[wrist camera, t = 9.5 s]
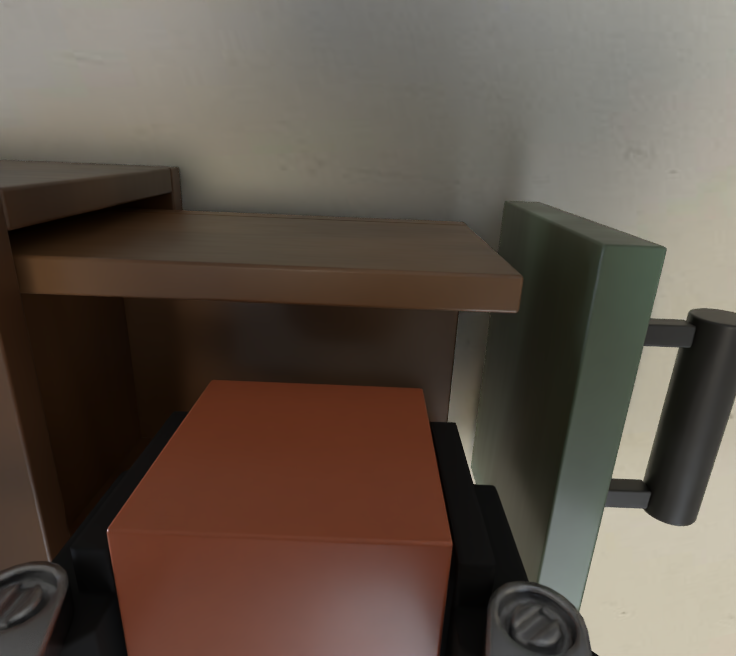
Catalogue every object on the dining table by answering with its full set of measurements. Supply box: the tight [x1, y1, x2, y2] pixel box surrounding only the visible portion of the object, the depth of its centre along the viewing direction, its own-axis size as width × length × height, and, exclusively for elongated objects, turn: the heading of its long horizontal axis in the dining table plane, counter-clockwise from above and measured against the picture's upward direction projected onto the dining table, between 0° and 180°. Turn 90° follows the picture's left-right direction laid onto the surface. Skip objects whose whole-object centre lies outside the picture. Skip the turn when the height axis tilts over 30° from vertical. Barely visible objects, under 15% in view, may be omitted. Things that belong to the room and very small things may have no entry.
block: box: [107, 380, 453, 656], centre depth 9 cm, size 4×4×4 cm
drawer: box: [8, 201, 736, 611], centre depth 15 cm, size 19×10×8 cm, turn 88°
